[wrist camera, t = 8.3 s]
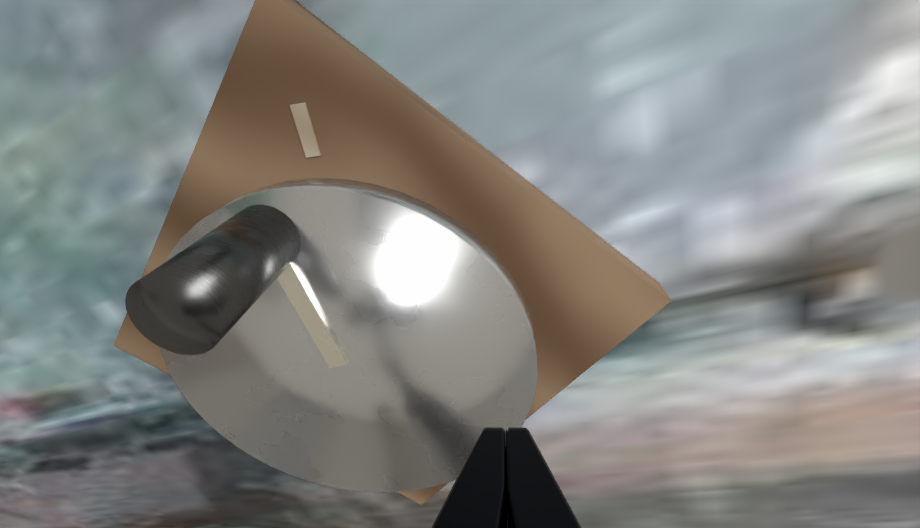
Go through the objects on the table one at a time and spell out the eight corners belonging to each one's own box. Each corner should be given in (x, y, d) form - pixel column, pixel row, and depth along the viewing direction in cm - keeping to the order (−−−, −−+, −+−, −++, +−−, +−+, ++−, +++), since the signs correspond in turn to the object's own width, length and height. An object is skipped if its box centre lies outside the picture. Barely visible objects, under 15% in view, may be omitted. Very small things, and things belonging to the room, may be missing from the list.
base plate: (424, 483, 29) (421, 506, 27) (134, 328, 24) (112, 346, 23) (659, 283, 20) (672, 302, 19) (281, -11, 16) (260, -16, 14)
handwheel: (563, 417, 22) (594, 592, 15) (298, 460, 26) (223, 620, 19) (474, 110, 15) (454, 172, 8) (128, 224, 19) (-92, 336, 12)
